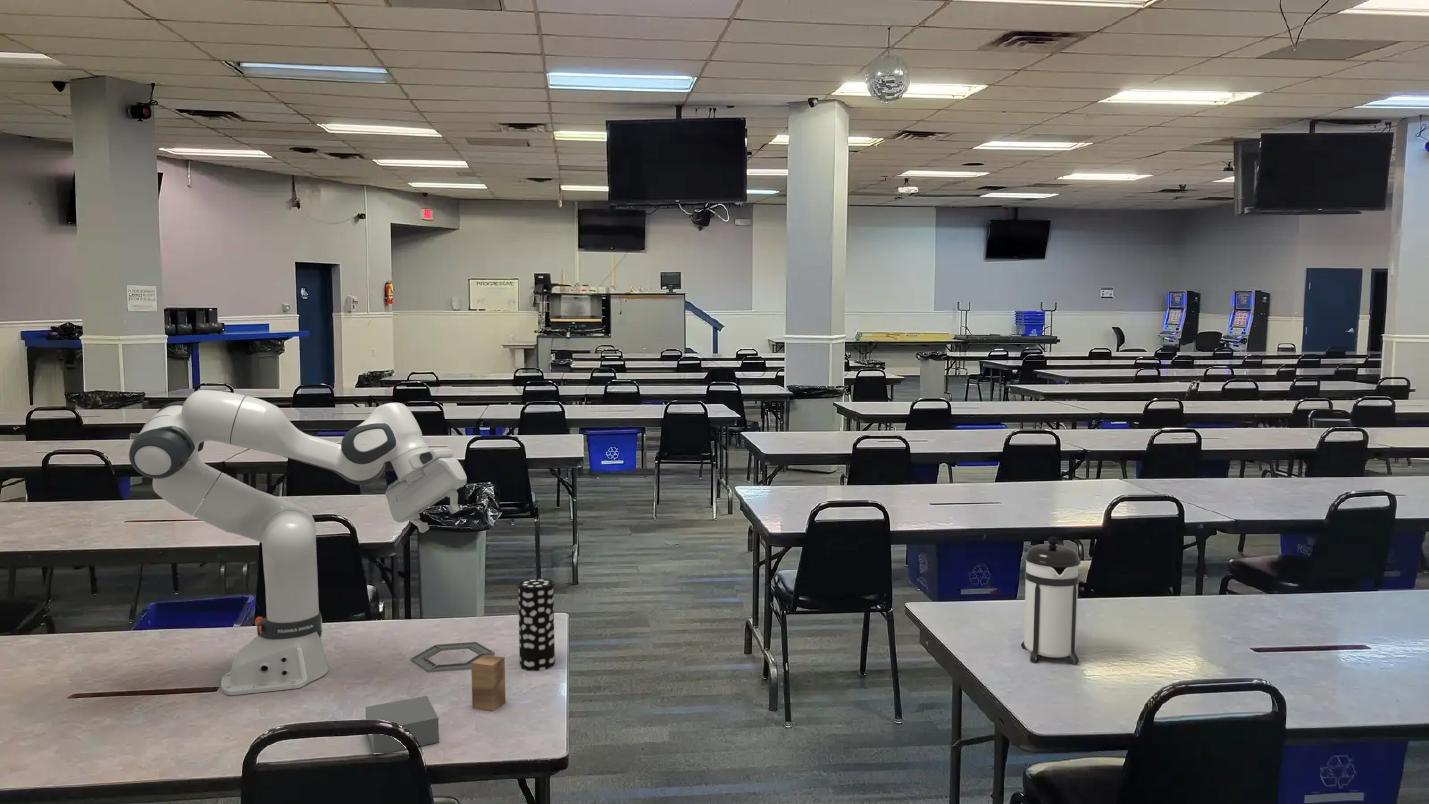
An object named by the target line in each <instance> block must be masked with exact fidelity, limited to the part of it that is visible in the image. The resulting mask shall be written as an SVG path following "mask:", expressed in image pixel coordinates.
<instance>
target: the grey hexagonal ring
mask: <svg viewBox="0 0 1429 804" xmlns="http://www.w3.org/2000/svg"><path fill="white" fill-rule="evenodd" d="M467 649H468V650H470V651H472V652H474V654H477V655H476V656H474V657H473V658H471V659H470V660H467V661H466V662H457V663H456V662H455V663H446V664H445V663H444V664H437V663H435V662H433V661H432V660H430V658H431V657H432V656H435V655H437V654H438V653H440V652H441V651H453V650H454V651H455V650H457V651H458V650H467ZM462 653H466V654H467V652H466V651H462ZM483 655H490V656H496V652H495V651H493V650H492V649H490V648H488V647H486V646H484V645H482V644H480V643H479V642H477V641H470V642H468V641H467V642H458V643H457V642H453V643H442V644H434V645H432V646H430V647H428V648H427V649H425V650H422V652H420V653H418V654H416V655H414V656H413V657H411V658H410V662H411V663H413V664H415V665H416V666H418V667H419V668H420V669H422V670H424V671H425V672H427V673H428V674H429V673H440V672H451V671H455V672H456V671H464V670H472V668H471V663H472V662H474V661H475V660H477V659H478V658H480V657H482V656H483Z"/></svg>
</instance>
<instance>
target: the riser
mask: <svg viewBox="0 0 1429 804" xmlns="http://www.w3.org/2000/svg"><path fill="white" fill-rule="evenodd" d="M366 719H381V720H385V721H389V722H394V723H397V724H399V725H400V726H402V728H405V729H407V730H409V731H410V732H411V733H412V734H413V735H414V736H415V737H416V738H417V739H418V742H419V744H420V745H422V746H421V747H424V745H425V746H427V745H426V744H429V745H433V743H434V744H438V743H440V735H439V734H440V733H439V731H440V729H439V716H438V714H437V712H436V711H435V709H434V706H433V704H432V702H431V701H430V699H429V696H428V695H423V696H418V697H412V698H407V699H401V700H396V701H390V702H385V703H378V704H374V705H370V706H365V720H366ZM367 738H368V741H369V743H370V747H371V751H372V754H373V753H386V754H390V752H391V753H395V752H399V751H405V750H406V749H405V747H404V746H403V745H402V744H401V743H400V742H398V741H397V740H395V739H394V738H393V737H391V736H386V735H380V734H372V735H369V736H368V735H367Z"/></svg>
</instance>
